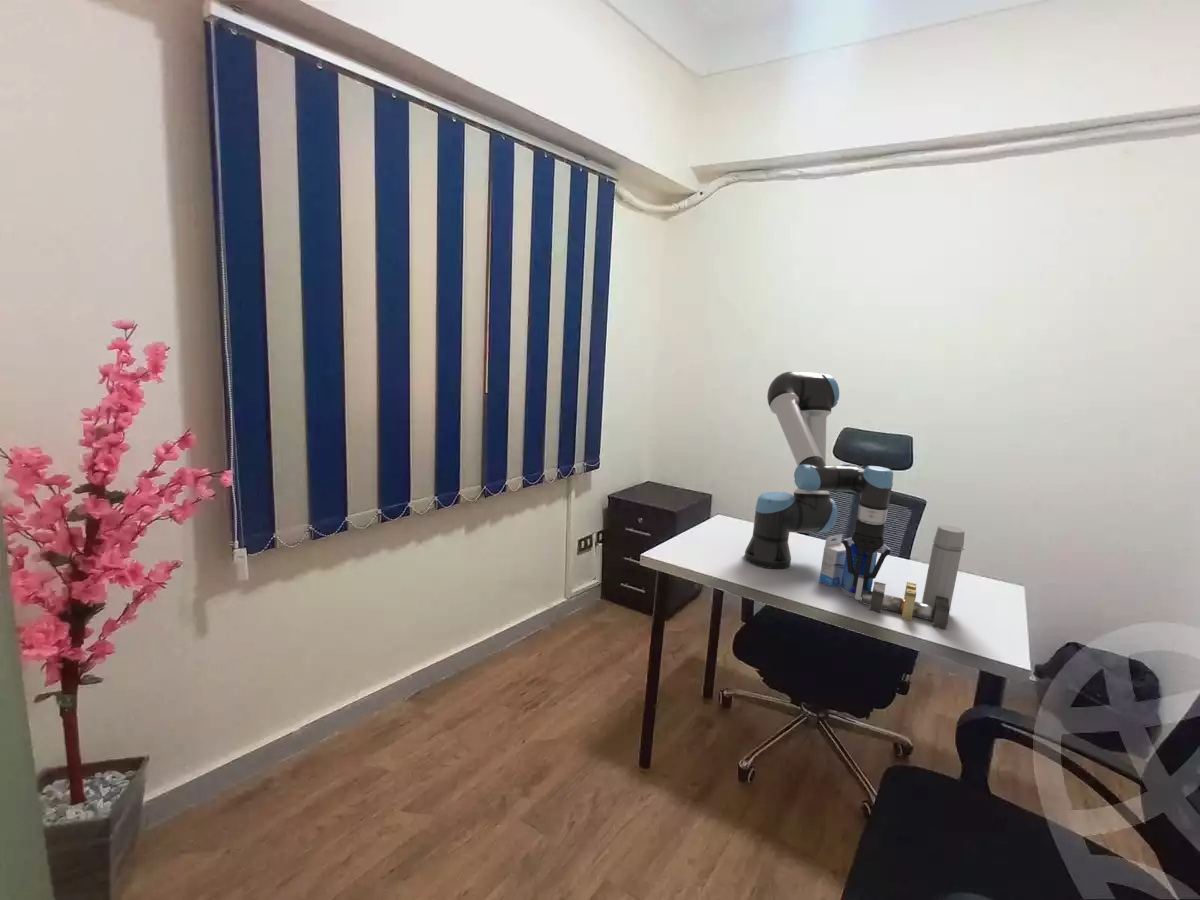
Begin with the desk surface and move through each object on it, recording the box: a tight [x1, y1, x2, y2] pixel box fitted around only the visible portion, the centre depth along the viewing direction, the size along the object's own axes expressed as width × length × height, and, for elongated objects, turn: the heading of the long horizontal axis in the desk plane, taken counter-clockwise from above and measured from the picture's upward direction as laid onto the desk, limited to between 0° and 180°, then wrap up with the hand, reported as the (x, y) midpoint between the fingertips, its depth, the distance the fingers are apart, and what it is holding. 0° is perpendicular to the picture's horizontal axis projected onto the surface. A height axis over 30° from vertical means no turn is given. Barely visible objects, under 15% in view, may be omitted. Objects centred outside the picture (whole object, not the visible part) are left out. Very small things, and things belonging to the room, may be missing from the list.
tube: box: [860, 589, 950, 624], centre depth 169 cm, size 22×4×4 cm, turn 62°
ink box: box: [818, 533, 846, 587], centre depth 187 cm, size 8×5×15 cm, turn 124°
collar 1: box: [869, 581, 887, 614], centre depth 172 cm, size 3×8×6 cm, turn 152°
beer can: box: [840, 541, 878, 598], centre depth 180 cm, size 8×8×16 cm
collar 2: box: [932, 596, 951, 631], centre depth 165 cm, size 3×8×6 cm, turn 152°
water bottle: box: [921, 524, 965, 613], centre depth 170 cm, size 9×8×25 cm
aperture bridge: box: [901, 581, 917, 622], centre depth 168 cm, size 2×8×8 cm, turn 152°
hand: (857, 597), depth 174 cm, fingers closed
